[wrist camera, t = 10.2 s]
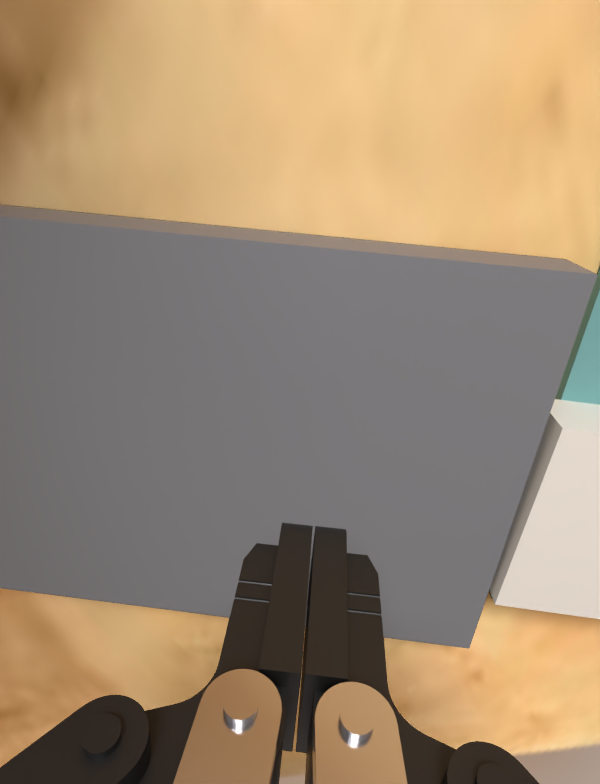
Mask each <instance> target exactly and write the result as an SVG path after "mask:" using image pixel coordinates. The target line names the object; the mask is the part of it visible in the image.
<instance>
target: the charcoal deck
mask: <svg viewBox="0 0 600 784" xmlns="http://www.w3.org/2000/svg"><path fill="white" fill-rule="evenodd" d="M597 275H598V274H595V273H593V272H591V271H589V270H587V269H585V268H583V267H581V266H579V265H577V264H575V263H573V262H571V261H568V260H566V259H558V258H547V257H537V256H527V255H516V254H506V253H496V252H485V251H475V250H465V249H454V248H444V247H434V246H423V245H413V244H403V243H392V242H382V241H372V240H361V239H351V238H341V237H330V236H320V235H310V234H299V233H289V232H279V231H269V230H258V229H248V228H238V227H227V226H217V225H207V224H196V223H186V222H176V221H165V220H155V219H145V218H134V217H124V216H114V215H103V214H93V213H83V212H72V211H62V210H52V209H41V208H31V207H21V206H10V205H0V588H3V589H11V590H19V591H27V592H35V593H42V594H50V595H58V596H66V597H73V598H81V599H89V600H97V601H105V602H112V603H120V604H128V605H136V606H143V607H151V608H159V609H167V610H175V611H182V612H190V613H198V614H206V615H213V616H221V617H229V618H230V614H231V610H232V606H233V602H234V599H235V593H236V589H237V585H238V582H239V576H240V572H241V568H242V564H243V559H244V558H245V557H246V556H247V554H248V553H249V552H250V551H251V550H252V548H253V547H254V546H255V545H256V543H260V544H269V545H278V544H279V538H280V531H281V525H282V523H292V524H301V525H310V526H313V529H312V542H311V555H310V567H309V577H310V568H311V559H312V550H313V541H314V533H315V526H320V527H330V528H339V529H346V532H347V553H352V554H361V555H368V557H369V559H370V560H371V562H372V564H373V566H374V567H375V569H376V571H377V573H378V576H379V589H380V601H381V617H382V625H383V637H384V638H392V639H400V640H408V641H416V642H423V643H431V644H439V645H447V646H454V647H462V648H469V647H470V644H471V641H472V638H473V636H474V633H475V630H476V627H477V624H478V621H479V618H480V615H481V612H482V609H483V606H484V604H485V601H486V598H487V595H488V592H489V589H490V586H491V583H492V580H493V577H494V575H495V572H496V569H497V566H498V563H499V560H500V557H501V554H502V551H503V548H504V546H505V543H506V540H507V537H508V534H509V531H510V528H511V525H512V522H513V519H514V516H515V514H516V511H517V508H518V505H519V502H520V499H521V496H522V493H523V490H524V487H525V485H526V482H527V479H528V476H529V473H530V470H531V467H532V464H533V461H534V458H535V455H536V453H537V450H538V447H539V444H540V441H541V438H542V435H543V432H544V429H545V426H546V424H547V421H548V418H549V415H550V412H551V409H552V406H553V403H554V400H555V397H556V395H557V392H558V389H559V386H560V383H561V380H562V377H563V374H564V371H565V368H566V365H567V363H568V360H569V357H570V354H571V351H572V348H573V345H574V342H575V339H576V336H577V334H578V331H579V328H580V325H581V322H582V319H583V316H584V313H585V310H586V307H587V304H588V302H589V299H590V296H591V293H592V290H593V287H594V284H595V281H596V278H597ZM308 588H309V580H308ZM307 599H308V593H307ZM306 612H307V606H306ZM305 625H306V619H305Z"/></svg>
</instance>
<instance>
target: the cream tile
mask: <svg viewBox="0 0 600 784" xmlns="http://www.w3.org/2000/svg"><path fill="white" fill-rule="evenodd" d="M490 592H491V595H492V598H493V601H494V604H495V605H501V606H508V607H516V608H523V609H530V610H537V611H544V612H552V613H559V614H566V615H573V616H580V617H588V618H595V619H600V405H598V404H590V403H582V402H574V401H566V400H558V399H555V400H554V403H553V406H552V409H551V412H550V415H549V418H548V421H547V424H546V426H545V429H544V432H543V435H542V438H541V441H540V444H539V447H538V450H537V453H536V455H535V458H534V461H533V464H532V467H531V470H530V473H529V476H528V479H527V482H526V485H525V487H524V490H523V493H522V496H521V499H520V502H519V505H518V508H517V511H516V514H515V516H514V519H513V522H512V525H511V528H510V531H509V534H508V537H507V540H506V543H505V546H504V548H503V551H502V554H501V557H500V560H499V563H498V566H497V569H496V572H495V575H494V577H493V580H492V583H491V586H490Z"/></svg>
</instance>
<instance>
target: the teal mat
mask: <svg viewBox="0 0 600 784" xmlns="http://www.w3.org/2000/svg"><path fill="white" fill-rule="evenodd" d="M555 399H558V400H566V401H574V402H582V403H590V404H598V405H600V268H599V271H598V275H597V278H596V281H595V284H594V287H593V290H592V293H591V296H590V299H589V302H588V304H587V307H586V310H585V313H584V316H583V319H582V322H581V325H580V328H579V331H578V334H577V336H576V339H575V342H574V345H573V348H572V351H571V354H570V357H569V360H568V363H567V365H566V368H565V371H564V374H563V377H562V380H561V383H560V386H559V389H558V392H557V395H556V397H555ZM489 592H490V589H489ZM490 595H491V592H490ZM491 598H492V595H491Z"/></svg>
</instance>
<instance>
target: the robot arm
mask: <svg viewBox="0 0 600 784" xmlns="http://www.w3.org/2000/svg"><path fill="white" fill-rule="evenodd" d="M312 529H313V526H310V525H301V524H292V523H282V525H281V531H280V538H279V544H278V545H269V544H260V543H256V545H255V546H254V547H253V548H252V550H251V551H250V552H249V553H248V554H247V556H246V557H245V558H244V559H243V564H242V568H241V572H240V576H239V582H238V585H237V589H236V593H235V599H234V602H233V606H232V610H231V614H230V618H229V623H228V627H227V631H226V635H225V639H224V644H223V648H222V652H221V656H220V660H219V664H218V667H217V670H216V672H215V674H214V676H213V678H212V679H211V681H210V682H209V683H208V684H207V686H206V687H205V688H204V689H203V690H201V691H200V692H199V693H198V694H196V695H195V696H193V697H192V698H190V699H188V700H186V701H184V702H181V703H177V704H174V705H170V706H165V707H161V708H156V709H152V710H147V711H144V709H143V708H142V706H141V705H140V704H139V703H138V702H136V701H135V700H133V699H132V698H129V697H126V696H122V695H109V696H103V697H100V698H97V699H95V700H93V701H91V702H89V703H87V704H86V705H84V706H83V707H81V708H80V709H78V710H77V711H76V712H74V713H73V714H72V715H70V716H69V717H68V718H66V719H65V720H64V721H62V722H61V723H60V724H58V725H57V726H56V727H54V728H53V729H51V730H50V731H49V732H47V733H46V734H45V735H43V736H42V737H41V738H39V739H38V740H37V741H35V742H34V743H33V744H31V745H30V746H29V747H27V748H26V749H25V750H23V751H22V752H21V753H19V754H18V755H17V756H15V757H14V758H13V759H11V760H10V761H9V762H7V763H6V764H5V765H3V766H2V767H0V784H279V777H280V767H281V757H282V750H285V751H292V749H293V740H294V731H295V723H296V714H297V706H298V697H299V688H300V680H301V690H300V703H299V716H298V729H297V742H296V752H303V753H307V758H306V775H305V784H539V783H538V782H537V781H536V780H535V778H534V777H533V776H532V775H531V774H530V773H529V772H528V771H527V770H526V769H525V768H524V766H523V765H522V764H521V763H520V762H519V761H518V760H517V759H516V758H515V757H513V756H512V755H511V754H510V753H508V752H507V751H505V750H504V749H502V748H500V747H498V746H496V745H493V744H490V743H486V742H478V741H476V742H469V743H466V744H464V745H462V746H461V747H459V748H458V749H457V750H456V749H454V748H452V747H450V746H447V745H445V744H443V743H441V742H439V741H437V740H435V739H433V738H431V737H429V736H427V735H425V734H423V733H421V732H420V731H418V730H417V729H415V728H414V727H413V726H411V725H410V724H409V723H408V722H407V721H406V720H405V719H404V718H403V717H402V716H401V714H400V713H399V712H398V710H397V709H396V707H395V705H394V703H393V701H392V699H391V697H390V694H389V690H388V684H387V673H386V661H385V649H384V637H383V625H382V617H381V601H380V589H379V576H378V573H377V571H376V569H375V567H374V566H373V564H372V562H371V560H370V559H369V557H368V555H361V554H352V553H347V532H346V529H339V528H330V527H320V526H315V533H314V541H313V550H312V559H311V568H310V577H309V567H310V555H311V542H312ZM308 580H309V588H308ZM307 593H308V599H307ZM306 606H307V612H306ZM305 619H306V625H305ZM304 631H305V638H304ZM303 644H304V651H303ZM302 657H303V664H302ZM301 670H302V677H301Z"/></svg>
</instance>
